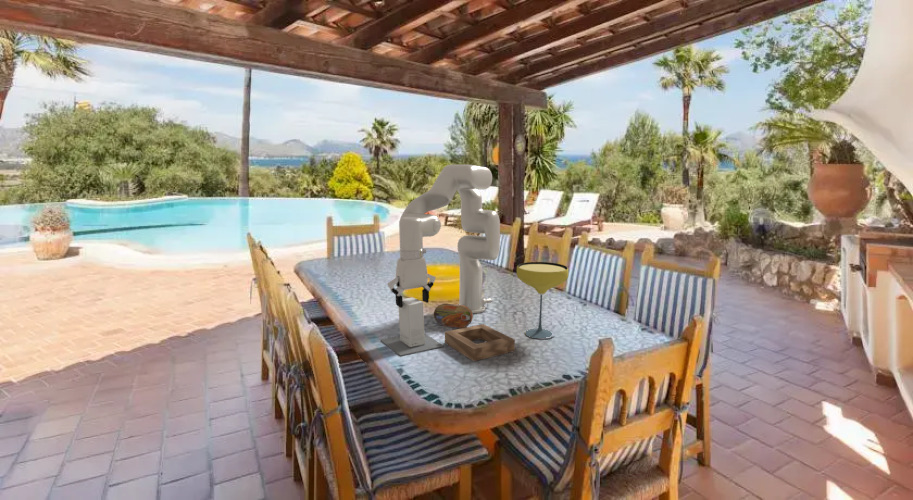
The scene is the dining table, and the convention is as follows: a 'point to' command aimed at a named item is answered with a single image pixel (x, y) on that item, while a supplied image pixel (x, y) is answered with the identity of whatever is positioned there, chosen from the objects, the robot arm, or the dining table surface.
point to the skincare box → (412, 322)
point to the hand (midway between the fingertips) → (412, 304)
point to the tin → (453, 315)
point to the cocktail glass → (541, 284)
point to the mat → (406, 350)
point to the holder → (490, 348)
